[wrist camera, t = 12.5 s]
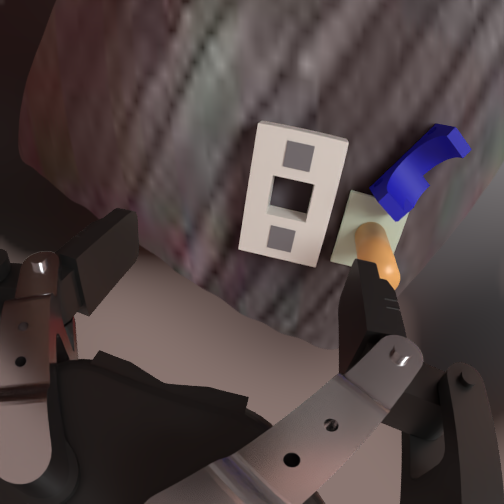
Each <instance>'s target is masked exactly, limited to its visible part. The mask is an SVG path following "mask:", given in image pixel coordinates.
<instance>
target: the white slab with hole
mask: <svg viewBox="0 0 504 504" xmlns="http://www.w3.org/2000/svg"><path fill="white" fill-rule="evenodd" d="M348 144H349V142H348V141H347V139H345V138H341V137H337V136H333V135H329V134H325V133H321V132H316V131H312V130H307V129H303V128H298V127H293V126H288V125H283V124H278V123H273V122H268V121H261V122H259V123H258V126H257V133H256V139H255V145H254V151H253V158H252V164H251V170H250V177H249V183H248V189H247V196H246V202H245V209H244V215H243V222H242V228H241V235H240V242H239V248H238V249H239V250H243V251H247V252H252V253H256V254H260V255H264V256H269V257H273V258H277V259H282V260H286V261H290V262H294V263H299V264H303V265H307V266H312V267H316V264H317V261H318V257H319V254H320V250H321V247H322V244H323V240H324V237H325V233H326V229H327V226H328V222H329V219H330V215H331V211H332V208H333V204H334V200H335V196H336V192H337V189H338V185H339V181H340V177H341V173H342V169H343V165H344V161H345V157H346V152H347V148H348ZM275 176H279V177H283V178H288V179H292V180H297V181H301V182H305V183H310V184H313V189H312V193H311V197H310V202H309V206H308V210H307V213H303V212H298V211H294V210H290V209H285V208H281V207H276V206H272V205H270V200H271V195H272V189H273V184H274V178H275Z"/></svg>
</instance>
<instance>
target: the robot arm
mask: <svg viewBox="0 0 504 504" xmlns="http://www.w3.org/2000/svg"><path fill="white" fill-rule="evenodd" d="M138 252H139V240H138V220H137V214H136V212H134V211H130V210H125V209H120V208H116V209H114V210H113V211H112V212H110V213H109V214H108V215H106V216H105V217H104V218H102V219H100V220H97V221H95V222H92V223H91V224H89V225H88V226H87V227H86V228H84V229H83V231H81V232H79V233H78V234H77V235H76V236H74V237H73V238H72V239H71V240H70V241H68V242H67V243H66V244H65V245H63V246H62V247H61V248H60V249H58V250H57V251H56V252H55V253H54V252H50V251H43V252H38V253H35V254H32V255H30V256H29V257H28V258H26V259H25V260H24V261H23V263H22V264H19V263H10V261H9V257H8V254H7V252H6V251H5V250H3V249H0V504H325V502H324V501H323V499H322V498H321V496H320V495H319V493H318V492H317V490H318V489H319V488H320V487H321V486H322V485H323V484H324V483H325V482H326V481H327V480H328V479H329V478H330V477H331V476H332V475H333V474H334V473H335V472H336V471H337V470H338V469H339V468H340V467H341V466H342V465H343V464H344V463H345V462H346V461H347V460H348V459H349V458H350V457H351V456H352V455H353V454H354V452H355V451H356V450H357V449H358V448H359V447H360V446H361V445H362V444H363V443H364V442H365V440H366V439H367V438H368V437H369V436H370V435H371V433H372V432H373V431H374V430H375V428H376V427H377V426H378V425H379V424H380V423H383V424H386V425H388V426H391V427H393V428H396V429H399V430H401V431H402V473H401V498H400V504H504V491H503V481H502V472H501V463H500V456H499V450H498V445H497V438H496V433H495V428H494V423H493V418H492V413H491V409H490V405H489V400H488V396H487V392H486V388H485V385H484V381H483V379H482V377H481V375H480V374H479V372H478V371H477V370H476V369H475V368H473V367H472V366H470V365H469V364H466V363H463V362H456V363H453V364H452V365H450V367H449V368H448V369H447V370H446V372H445V371H443V370H440V369H438V368H436V367H433V366H431V365H428V364H426V363H424V362H423V355H422V353H421V351H420V349H419V348H418V346H417V345H416V344H415V343H413V342H412V341H411V340H409V339H407V337H406V333H405V328H404V324H403V320H402V316H401V312H400V311H399V309H400V308H399V305H398V302H397V297H396V293H395V290H394V288H393V287H392V286H391V285H390V283H389V282H388V281H387V280H385V279H381V278H380V276H379V272H378V268H377V264H376V263H374V262H369V261H365V260H361V259H355V260H354V261H353V263H352V266H351V269H350V272H349V275H348V277H347V280H346V283H345V286H344V289H343V291H342V294H341V297H340V301H339V308H338V320H339V374H337V375H336V376H335V377H333V378H332V379H331V380H330V381H329V382H328V383H326V384H325V385H324V386H323V387H322V388H321V389H319V390H318V391H317V392H316V393H315V394H313V395H312V396H311V397H310V398H309V399H307V400H306V401H305V402H304V403H302V404H301V405H300V406H299V407H297V408H296V409H295V410H294V411H292V412H291V413H290V414H288V415H287V416H286V417H285V418H283V419H282V420H281V421H279V422H278V423H277V424H275V425H274V426H272V424H271V423H269V422H268V421H267V420H265V419H264V418H263V417H261V416H260V415H258V414H256V413H255V412H253V411H251V410H249V409H247V408H246V406H247V402H248V397H246V396H242V395H238V394H234V393H230V392H226V391H222V390H218V389H214V388H211V387H201V386H188V385H175V384H166V383H163V382H161V381H160V380H158V379H156V378H155V377H153V376H151V375H150V374H148V373H147V372H145V371H143V370H142V369H141V368H139V367H137V366H136V365H134V364H133V363H131V362H129V361H126V360H123V359H120V358H118V357H115V356H113V355H110V354H108V353H105V352H103V351H99V352H98V353H97V354H96V356H95V357H94V359H93V360H90V359H78V349H77V337H76V323H75V318H74V315H75V314H76V312H79V313H82V314H84V315H87V316H90V315H91V314H92V312H93V311H94V310H95V309H96V307H97V306H98V305H99V304H100V303H101V301H102V300H103V299H104V298H105V297H106V295H107V294H108V293H109V292H110V290H112V288H113V287H114V286H115V285H116V283H118V281H119V280H120V279H121V278H122V277H123V276H124V274H125V273H126V272H127V271H128V270H129V269H130V268H131V266H132V265H133V264H134V263H135V261H136V259H137V257H138Z"/></svg>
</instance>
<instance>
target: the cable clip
mask: <svg viewBox="0 0 504 504" xmlns="http://www.w3.org/2000/svg"><path fill="white" fill-rule="evenodd" d="M471 150H472V149H471V148H470V146H469V145H468V144H467V142H466V141H465V139H464V138H463V137H462V135H461V134H460V132H459V131H458V130H457V128H456V127H452V126H447V125H441V124H435V125H434V126H433V127H432V128H431V129H430V130H429V131H428V132H427V133H426V134H425V135H424V136H423V137H422V138H421V139H420V140H419V141H418V142H416V143H415V144H414V145H413V146H412V147H411V148H410V149H409V150H408V151H407V152H406V153H405V154H404V155H403V156H402V157H401V158H400V159H399V160H398V161H397V162H396V163H395V164H394V165H393V166H392V167H391V168H389V169H388V170H387V171H386V172H385V173H384V174H383V175H382V176H381V177H380V178H379V179H378V180H377V181H376V182H375V183H374V184H373V185H372V186H370V187H369V189H370V191H371V192H372V194H373V195H374V197H375V198H376V200H377V202H378V203H379V204H380V205H381V206H382V207H383V208H384V210H385V211H386V212H387V213H388V214H389V215H390V216H391V218H392V219H393V220H394V221H395V222H396V221H397V222H398V221H399V220H400V219H402V218H403V217H404V216H405V215H406V214H407V213H408V212H409V211H410V210H411V209H413V208H414V206H415V204H416V202H417V200H418V199H419V197H420V196H421V194H422V193H423V192H424V191H425V190H426V189H427V188H428V187H429V186H430V185H429V184H428V182H427V181H426V180H425V179H424V177H423V175H424V174H425V173H426V172H428V171H429V170H430V169H431V168H433V167H434V166H436V165H437V164H439V163H441V162H443V161H445V160H447V159H450V158H455V157H460V158H464V157H465V156H466V155H467V154H468V153H469V152H470V151H471Z"/></svg>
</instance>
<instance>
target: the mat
mask: <svg viewBox="0 0 504 504" xmlns="http://www.w3.org/2000/svg"><path fill="white" fill-rule="evenodd" d="M408 214H409V212H408V213H407V214H406V215H405V216H404V217H403V218H402V219H400V220H399V221H398V222H397V221H396V222H395V221H394V220H393V219H392V218H391V216H390V215H389V214H388V213H387V212H386V211H385V210H384V208H383V207H382V206H381V205H380V204H379V203H378V202H377V200H376V198H375V197H374V196H372V195H368V194H365V193H361V192H357V191H353V190H351V191H350V194H349V198H348V201H347V205H346V209H345V212H344V216H343V219H342V222H341V226H340V229H339V233H338V236H337V239H336V243H335V246H334V249H333V252H332V255H331V259H330V261H331V262H335V263H339V264H343V265H347V266H352V263H353V261H354V260H355V259H357V252H356V245H355V232H356V230H357V229H358V227H359V226H361V225H362V224H364V223H367V222H376V223H378V224H380V225H381V226H382V227H383V228H384V229H385V232H386V235H387V237H388V240H389V243H390V246H391V249H392V252H393V254H394V252H395V249H396V246H397V244H398V241H399V239H400V236H401V233H402V230H403V228H404V225H405V222H406V219H407V217H408Z"/></svg>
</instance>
